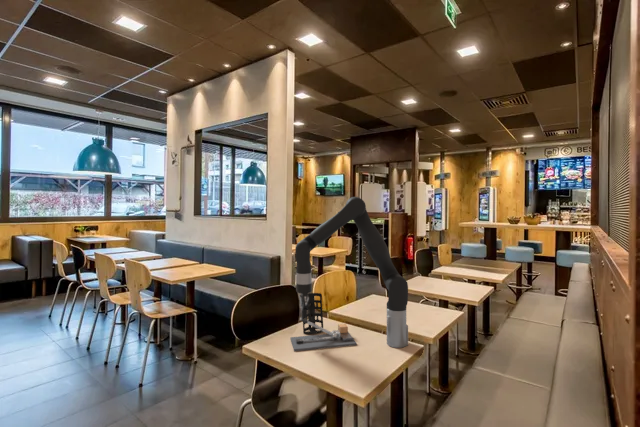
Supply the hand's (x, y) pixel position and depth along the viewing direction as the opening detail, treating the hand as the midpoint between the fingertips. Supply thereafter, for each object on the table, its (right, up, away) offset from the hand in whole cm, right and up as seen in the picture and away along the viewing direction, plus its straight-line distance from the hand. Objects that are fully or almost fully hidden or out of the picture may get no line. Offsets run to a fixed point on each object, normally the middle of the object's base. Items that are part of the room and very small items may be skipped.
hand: (304, 317), depth 163 cm
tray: (+9, -13, +2) cm, 16 cm away
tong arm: (+6, -5, +2) cm, 8 cm away
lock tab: (+19, -10, +9) cm, 23 cm away
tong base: (+9, -12, +4) cm, 15 cm away
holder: (+4, -12, +16) cm, 21 cm away
